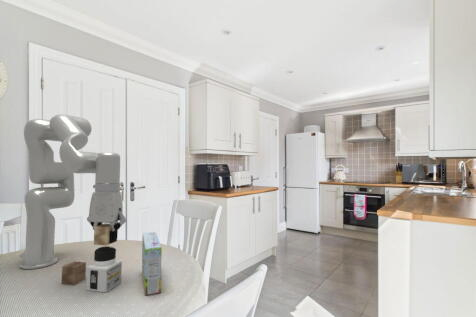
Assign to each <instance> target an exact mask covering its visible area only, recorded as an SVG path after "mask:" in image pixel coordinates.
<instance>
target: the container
mask: <svg viewBox="0 0 476 317" xmlns="http://www.w3.org/2000/svg"><path fill="white" fill-rule="evenodd" d="M93 253H94V255H93V256H94V259H93V261H94V262H93V263H92V264H89V265H87V266H86V284H85V285H86V286H85V289H86V291H92V292H98V293H99V292H100V293H107V292H109V291H111V290H112V289H113V288H115V287H116V286H118V285H120V284H121V283H122V267H123V264H122V263H123V260H118V259H117V258H116V257H117V248H116V247H115V246H112V245H107V246H106V245H103V246H101V247H98V248H96V249H95V250H94V252H93Z"/></svg>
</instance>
